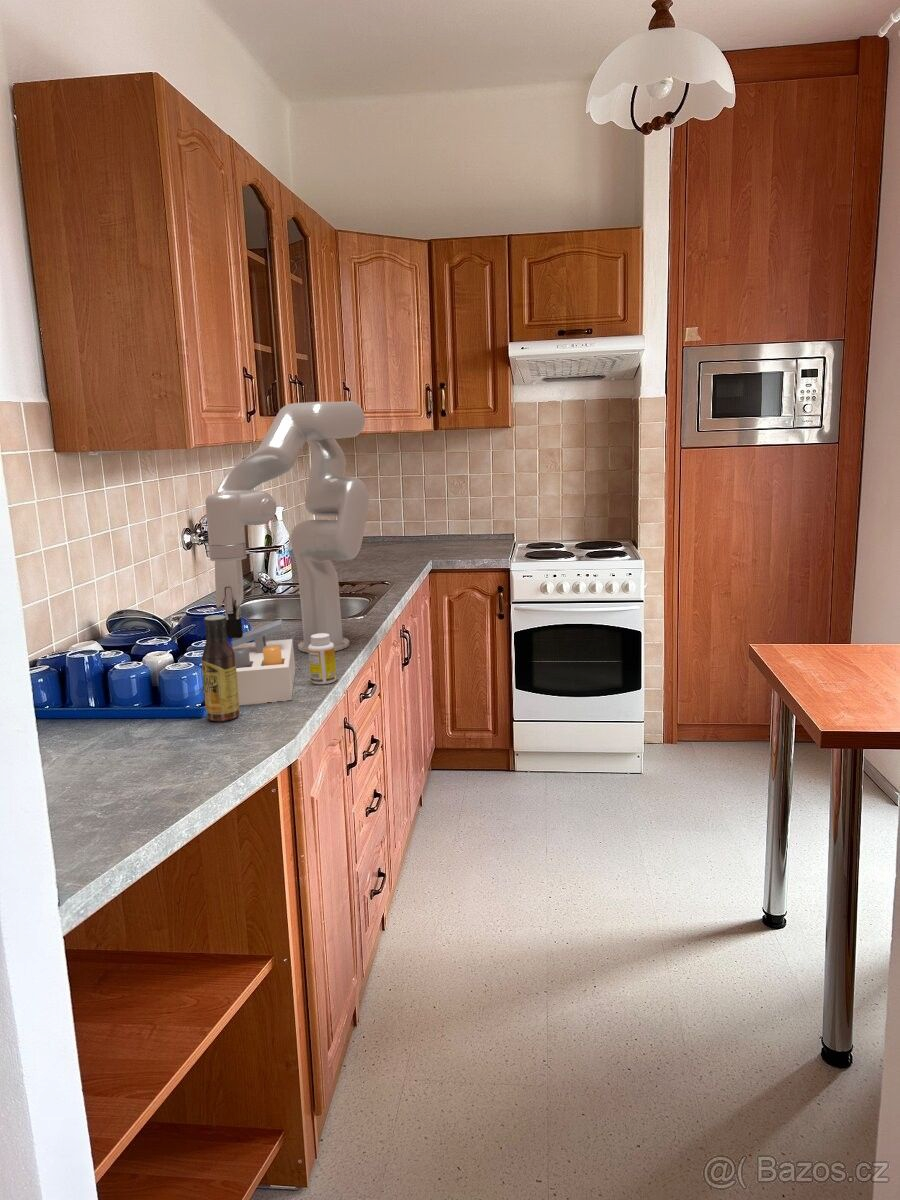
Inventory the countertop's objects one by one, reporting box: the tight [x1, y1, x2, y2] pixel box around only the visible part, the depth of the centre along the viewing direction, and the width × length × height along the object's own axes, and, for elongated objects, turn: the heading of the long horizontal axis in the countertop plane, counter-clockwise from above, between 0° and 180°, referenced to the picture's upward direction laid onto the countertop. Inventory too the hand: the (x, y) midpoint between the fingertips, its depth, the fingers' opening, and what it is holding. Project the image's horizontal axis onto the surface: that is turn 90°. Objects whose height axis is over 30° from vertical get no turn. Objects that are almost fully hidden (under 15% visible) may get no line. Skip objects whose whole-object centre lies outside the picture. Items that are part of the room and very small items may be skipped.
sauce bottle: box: [201, 614, 240, 723], centre depth 168 cm, size 7×6×20 cm
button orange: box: [263, 646, 282, 666], centre depth 181 cm, size 4×4×8 cm
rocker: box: [231, 618, 285, 647], centre depth 192 cm, size 6×11×2 cm, turn 98°
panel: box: [232, 635, 296, 706], centre depth 188 cm, size 24×13×10 cm, turn 8°
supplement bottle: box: [307, 633, 338, 685], centre depth 189 cm, size 6×6×10 cm
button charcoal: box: [234, 648, 250, 668], centre depth 180 cm, size 4×4×8 cm
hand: (234, 636), depth 190 cm, fingers closed
